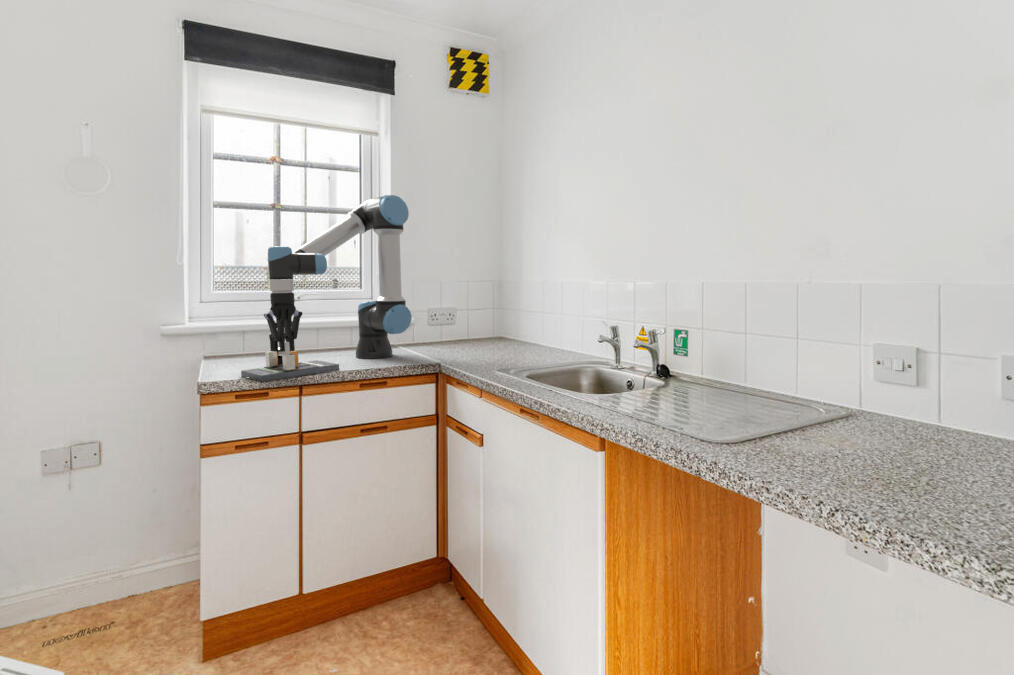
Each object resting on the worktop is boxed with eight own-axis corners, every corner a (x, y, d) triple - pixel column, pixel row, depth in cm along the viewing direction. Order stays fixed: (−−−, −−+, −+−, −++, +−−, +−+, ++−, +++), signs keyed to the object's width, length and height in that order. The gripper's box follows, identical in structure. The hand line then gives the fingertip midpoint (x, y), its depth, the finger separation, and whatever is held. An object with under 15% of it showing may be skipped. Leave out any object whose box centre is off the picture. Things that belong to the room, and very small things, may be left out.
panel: (316, 365, 200) (315, 345, 199) (339, 369, 190) (338, 349, 189) (241, 376, 179) (239, 354, 178) (262, 381, 169) (261, 358, 168)
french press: (280, 362, 207) (277, 304, 204) (302, 363, 205) (299, 304, 203) (262, 368, 195) (258, 306, 193) (285, 368, 194) (281, 306, 191)
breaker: (295, 364, 186) (294, 350, 186) (298, 365, 185) (297, 351, 184) (286, 365, 184) (286, 351, 184) (290, 366, 182) (289, 352, 182)
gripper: (294, 291, 187) (298, 357, 190) (257, 292, 177) (262, 361, 180) (305, 291, 182) (309, 359, 185) (268, 293, 172) (273, 364, 175)
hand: (286, 360), depth 182 cm, fingers closed
